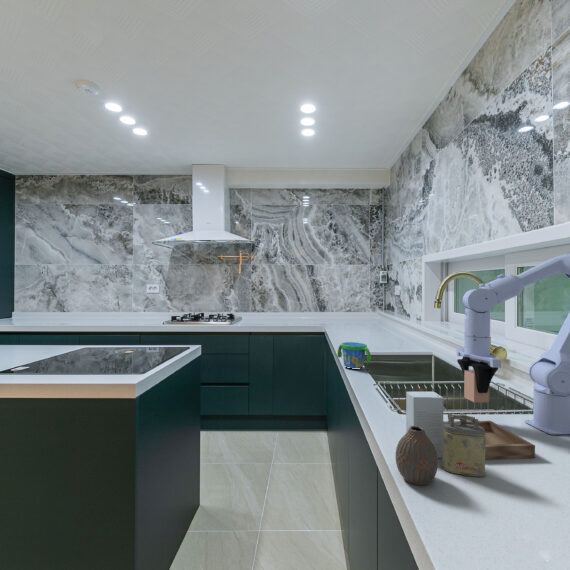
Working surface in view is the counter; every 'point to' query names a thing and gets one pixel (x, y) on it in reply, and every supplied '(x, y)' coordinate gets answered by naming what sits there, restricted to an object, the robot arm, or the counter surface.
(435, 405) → the skincare box
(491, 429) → the tray
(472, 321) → the robot arm
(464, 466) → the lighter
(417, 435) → the vase
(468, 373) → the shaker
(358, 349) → the snack cup
